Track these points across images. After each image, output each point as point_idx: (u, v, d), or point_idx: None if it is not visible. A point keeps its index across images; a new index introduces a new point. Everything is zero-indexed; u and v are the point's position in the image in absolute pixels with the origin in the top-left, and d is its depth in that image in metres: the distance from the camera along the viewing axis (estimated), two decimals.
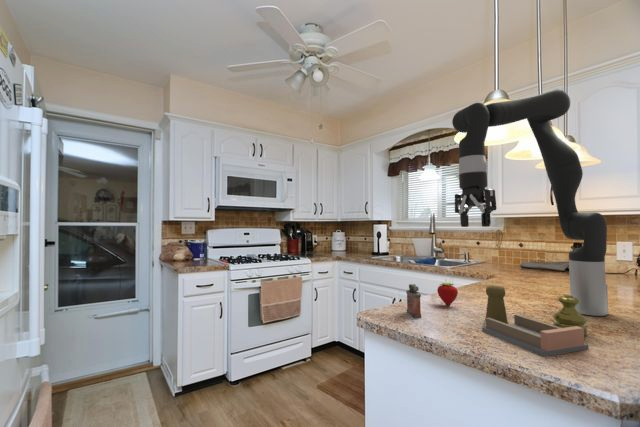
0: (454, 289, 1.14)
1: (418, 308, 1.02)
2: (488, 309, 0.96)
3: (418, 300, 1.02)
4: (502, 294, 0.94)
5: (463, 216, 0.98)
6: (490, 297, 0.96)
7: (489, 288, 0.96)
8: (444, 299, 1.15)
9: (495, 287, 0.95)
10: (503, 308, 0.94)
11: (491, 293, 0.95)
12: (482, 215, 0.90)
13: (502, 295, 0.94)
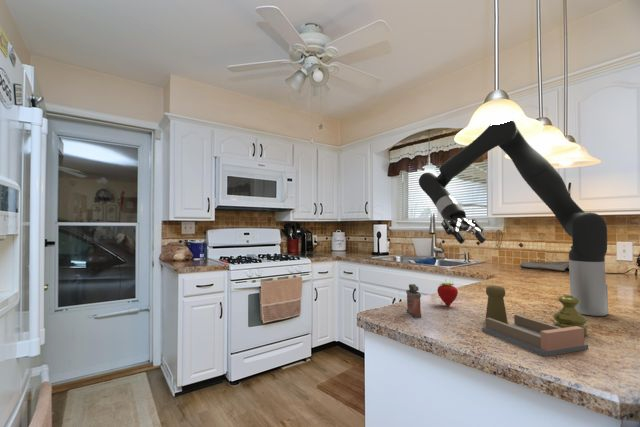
0: (454, 289, 1.14)
1: (418, 308, 1.02)
2: (488, 309, 0.96)
3: (418, 300, 1.02)
4: (502, 294, 0.94)
5: (476, 236, 1.13)
6: (490, 297, 0.96)
7: (489, 288, 0.96)
8: (444, 299, 1.15)
9: (495, 287, 0.95)
10: (503, 308, 0.94)
11: (491, 293, 0.95)
12: None
13: (502, 295, 0.94)
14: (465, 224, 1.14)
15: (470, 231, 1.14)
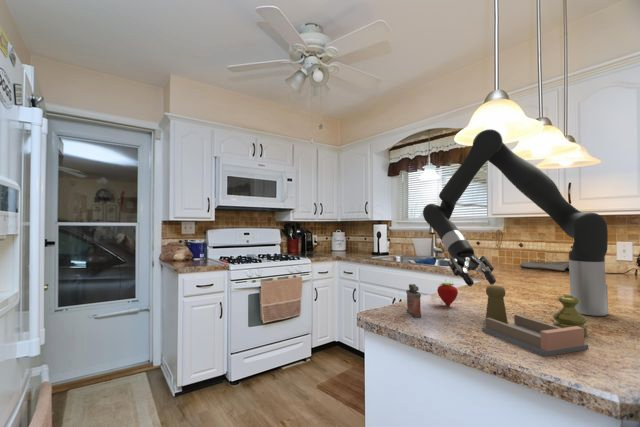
0: (454, 289, 1.14)
1: (418, 308, 1.02)
2: (488, 309, 0.96)
3: (418, 300, 1.02)
4: (502, 294, 0.94)
5: (486, 276, 1.05)
6: (490, 297, 0.96)
7: (489, 288, 0.96)
8: (444, 299, 1.15)
9: (495, 287, 0.95)
10: (503, 308, 0.94)
11: (491, 293, 0.95)
12: None
13: (502, 295, 0.94)
14: (474, 263, 1.06)
15: (479, 270, 1.07)
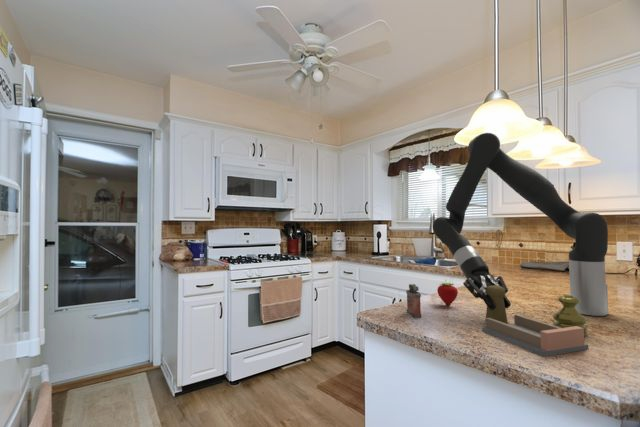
0: (454, 289, 1.14)
1: (418, 308, 1.02)
2: (488, 309, 0.96)
3: (418, 300, 1.02)
4: (502, 294, 0.94)
5: None
6: None
7: (489, 288, 0.96)
8: (444, 299, 1.15)
9: (495, 287, 0.95)
10: (503, 308, 0.94)
11: (491, 293, 0.95)
12: None
13: (502, 295, 0.94)
14: (487, 282, 1.00)
15: None
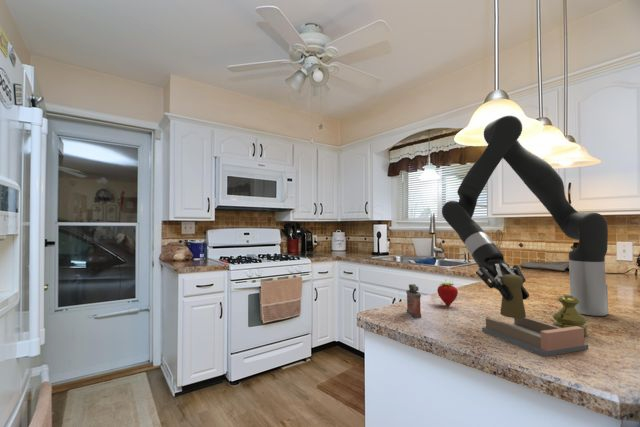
0: (454, 289, 1.14)
1: (418, 308, 1.02)
2: (504, 300, 0.87)
3: (418, 300, 1.02)
4: (520, 284, 0.85)
5: None
6: None
7: (505, 277, 0.87)
8: (444, 299, 1.15)
9: (512, 276, 0.86)
10: (521, 299, 0.85)
11: (508, 282, 0.86)
12: None
13: (520, 285, 0.85)
14: (503, 270, 0.91)
15: None
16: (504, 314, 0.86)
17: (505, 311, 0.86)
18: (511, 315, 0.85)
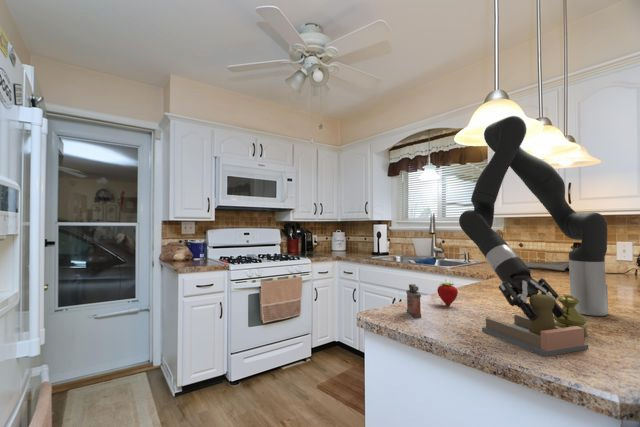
0: (454, 289, 1.14)
1: (418, 308, 1.02)
2: (533, 323, 0.79)
3: (418, 300, 1.02)
4: (551, 305, 0.77)
5: None
6: (535, 308, 0.79)
7: (534, 298, 0.79)
8: (444, 299, 1.15)
9: (542, 296, 0.78)
10: (552, 322, 0.77)
11: (537, 303, 0.78)
12: None
13: (551, 306, 0.77)
14: (532, 288, 0.82)
15: None
16: None
17: None
18: None
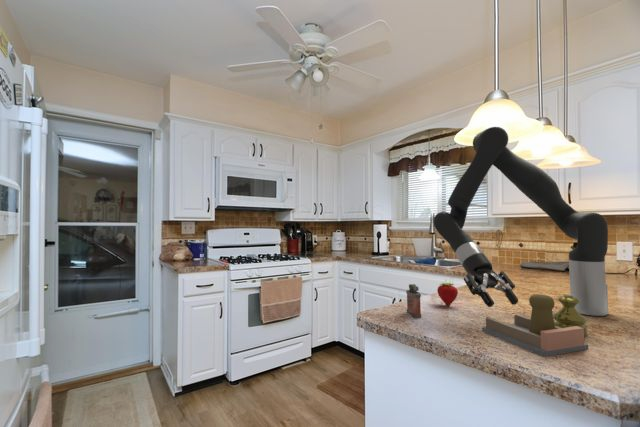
0: (454, 289, 1.14)
1: (418, 308, 1.02)
2: (533, 323, 0.79)
3: (418, 300, 1.02)
4: (551, 305, 0.77)
5: (506, 295, 0.94)
6: (535, 308, 0.79)
7: (534, 298, 0.79)
8: (444, 299, 1.15)
9: (542, 297, 0.78)
10: (552, 322, 0.77)
11: (537, 304, 0.78)
12: None
13: (551, 306, 0.77)
14: (493, 280, 0.95)
15: (498, 288, 0.96)
16: None
17: None
18: None
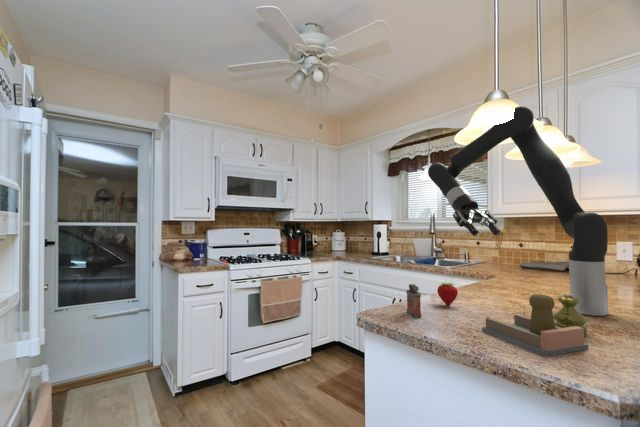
0: (454, 289, 1.14)
1: (418, 308, 1.02)
2: (533, 323, 0.79)
3: (418, 300, 1.02)
4: (551, 305, 0.77)
5: (490, 228, 1.07)
6: (535, 308, 0.79)
7: (534, 298, 0.79)
8: (444, 299, 1.15)
9: (542, 297, 0.78)
10: (552, 322, 0.77)
11: (537, 304, 0.78)
12: None
13: (551, 306, 0.77)
14: (478, 215, 1.08)
15: (483, 223, 1.09)
16: None
17: None
18: None
